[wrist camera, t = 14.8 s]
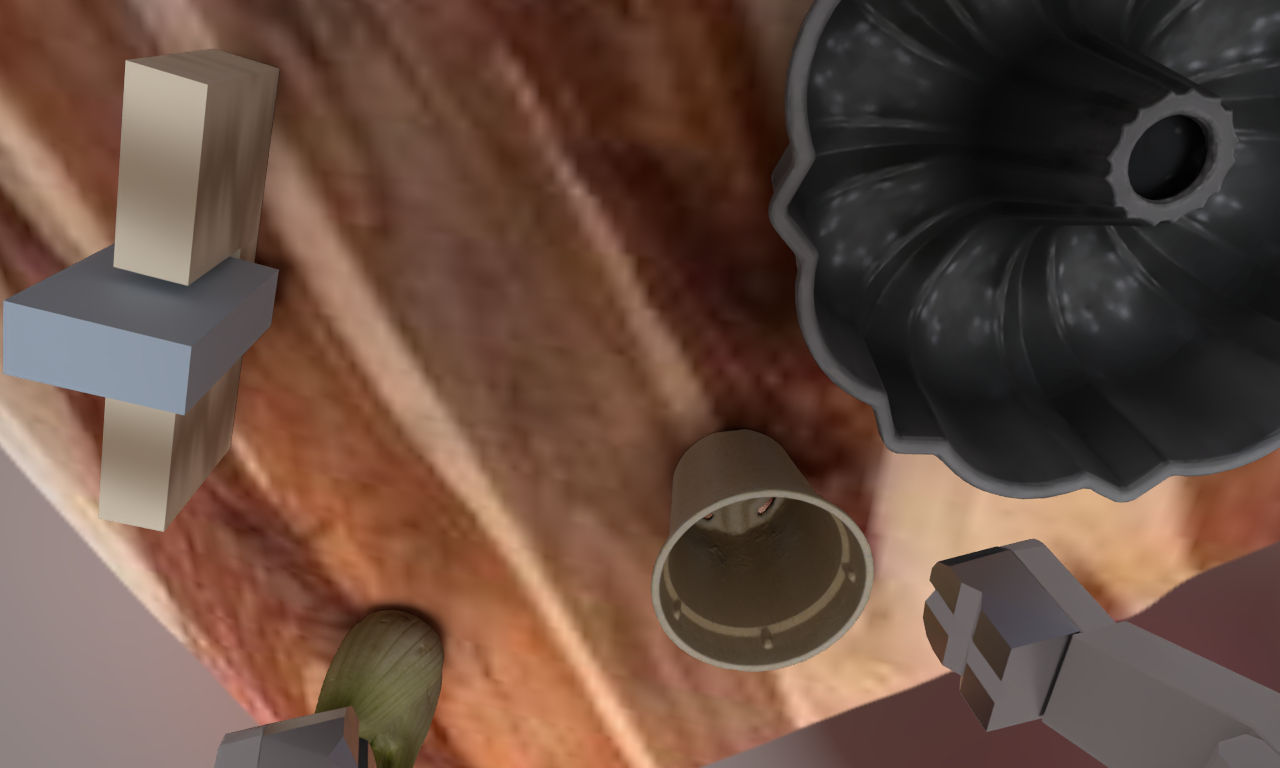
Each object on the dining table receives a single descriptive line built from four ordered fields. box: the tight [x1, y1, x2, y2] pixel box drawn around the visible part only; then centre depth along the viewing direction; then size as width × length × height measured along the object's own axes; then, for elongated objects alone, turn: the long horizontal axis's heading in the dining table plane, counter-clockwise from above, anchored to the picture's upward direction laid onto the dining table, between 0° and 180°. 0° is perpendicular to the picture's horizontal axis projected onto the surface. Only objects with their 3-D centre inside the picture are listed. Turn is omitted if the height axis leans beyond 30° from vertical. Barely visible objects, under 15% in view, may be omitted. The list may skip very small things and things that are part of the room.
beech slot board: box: [98, 49, 280, 532], centre depth 33 cm, size 18×2×7 cm, turn 163°
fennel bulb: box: [314, 610, 444, 768], centre depth 40 cm, size 6×5×12 cm
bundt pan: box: [768, 0, 1280, 502], centre depth 31 cm, size 26×26×10 cm
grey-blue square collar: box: [3, 243, 279, 415], centre depth 31 cm, size 6×3×8 cm, turn 73°
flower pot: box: [651, 429, 874, 672], centre depth 39 cm, size 9×9×9 cm
